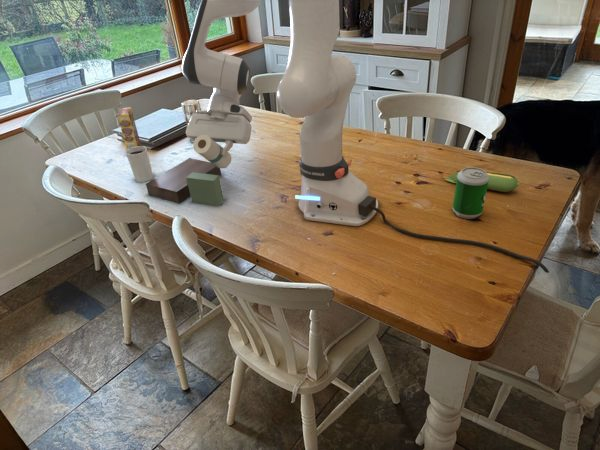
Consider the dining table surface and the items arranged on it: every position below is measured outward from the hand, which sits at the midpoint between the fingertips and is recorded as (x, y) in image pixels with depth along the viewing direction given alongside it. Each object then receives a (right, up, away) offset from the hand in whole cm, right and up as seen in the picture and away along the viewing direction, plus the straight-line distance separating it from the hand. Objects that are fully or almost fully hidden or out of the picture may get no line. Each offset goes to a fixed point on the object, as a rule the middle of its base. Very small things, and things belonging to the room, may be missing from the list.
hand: (212, 155), depth 128 cm
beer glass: (-14, +13, +43) cm, 47 cm away
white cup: (-26, -5, +18) cm, 32 cm away
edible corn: (+78, -10, -2) cm, 79 cm away
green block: (-2, -14, +1) cm, 14 cm away
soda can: (+70, -18, -13) cm, 73 cm away
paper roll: (+1, -5, +4) cm, 6 cm away
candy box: (-38, +8, +39) cm, 55 cm away
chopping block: (-11, -8, +11) cm, 17 cm away
